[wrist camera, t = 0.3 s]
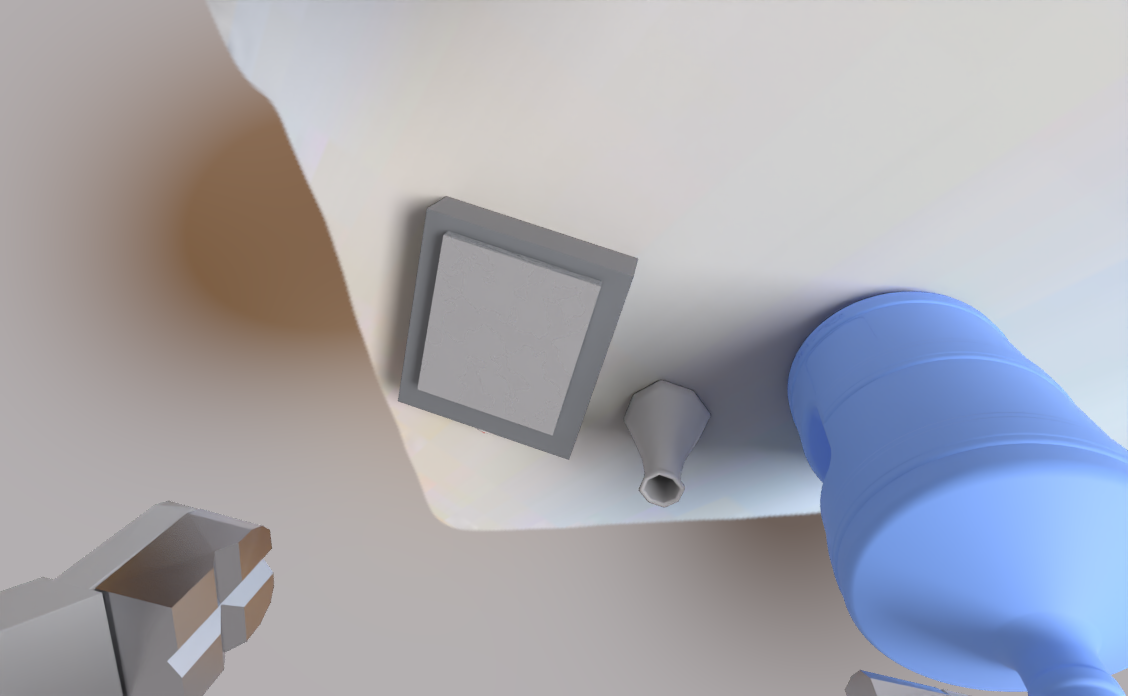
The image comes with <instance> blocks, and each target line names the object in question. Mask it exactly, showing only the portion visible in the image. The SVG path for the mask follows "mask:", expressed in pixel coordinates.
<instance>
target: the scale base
mask: <svg viewBox="0 0 1128 696" xmlns="http://www.w3.org/2000/svg"><path fill="white" fill-rule="evenodd" d="M448 231H450V232H453V233H456V234H459V235H462V236H465V237H468V238H471V239H474V240H477V241H480V242H483V243H486V244H489V245H492V246H495V247H498V248H501V249H504V250H507V251H511V252H514V253H517V254H520V255H523V256H526V257H529V258H532V259H535V260H538V261H541V262H544V263H547V264H550V265H553V266H556V267H559V268H562V269H565V270H568V271H571V272H574V273H577V274H580V275H583V276H587V277H590V278H593V279H596V280H599V281H602V286H601V289H600V292H599V295H598V298H597V301H596V304H595V307H594V310H593V313H592V316H591V319H590V322H589V325H588V329H587V332H586V335H585V338H584V341H583V344H582V347H581V350H580V353H579V356H578V359H577V362H576V365H575V368H574V372H573V375H572V378H571V381H570V384H569V387H568V390H567V393H566V396H565V399H564V402H563V405H562V408H561V411H560V415H559V418H558V421H557V424H556V427H555V430H554V433H553V435H549V434H546V433H543V432H541V431H538V430H535V429H532V428H529V427H526V426H523V425H520V424H517V423H514V422H511V421H508V420H505V419H503V418H500V417H497V416H494V415H491V414H488V413H485V412H482V411H479V410H476V409H473V408H470V407H467V406H465V405H462V404H459V403H456V402H453V401H450V400H447V399H444V398H441V397H438V396H435V395H432V394H429V393H427V392H424V391H421V390H418V389H417V388H418V382H419V376H420V371H421V365H422V359H423V353H424V347H425V341H426V335H427V329H428V323H429V317H430V311H431V305H432V299H433V294H434V288H435V282H436V276H437V270H438V264H439V258H440V252H441V246H442V240H443V235H444V234H445V233H447V232H448ZM637 261H638V258H634V257H631V256H628V255H625V254H622V253H619V252H616V251H613V250H610V249H607V248H604V247H601V246H598V245H595V244H592V243H588V242H585V241H582V240H579V239H576V238H573V237H570V236H567V235H564V234H561V233H558V232H555V231H552V230H549V229H546V228H543V227H539V226H536V225H533V224H530V223H527V222H524V221H521V220H518V219H515V218H512V217H509V216H506V215H503V214H500V213H497V212H493V211H490V210H487V209H484V208H481V207H478V206H475V205H472V204H469V203H466V202H463V201H460V200H457V199H454V198H451V197H447V196H446V197H445V198H443V199H442V200H440V201H438V202H437V203H435V204H434V205H432V206H430V207H429V208H427V212H426V218H425V225H424V232H423V238H422V245H421V252H420V258H419V265H418V272H417V278H416V285H415V292H414V298H413V305H412V311H411V318H410V325H409V331H408V338H407V345H406V351H405V358H404V365H403V371H402V378H401V385H400V391H399V398H398V401H399V402H402V403H405V404H408V405H411V406H414V407H417V408H419V409H422V410H425V411H428V412H431V413H434V414H437V415H440V416H443V417H446V418H449V419H451V420H454V421H457V422H460V423H463V424H466V425H469V426H472V427H475V428H477V429H478V430H480V431H482V432H483V433H492V434H495V435H498V436H501V437H504V438H507V439H510V440H513V441H516V442H518V443H521V444H524V445H527V446H530V447H533V448H536V449H539V450H542V451H545V452H548V453H550V454H553V455H556V456H559V457H562V458H565V459H568V460H569V458H570V455H571V452H572V449H573V447H574V444H575V441H576V438H577V435H578V432H579V430H580V427H581V424H582V421H583V418H584V415H585V413H586V410H587V407H588V404H589V401H590V398H591V396H592V393H593V390H594V387H595V384H596V381H597V379H598V376H599V373H600V370H601V367H602V364H603V362H604V359H605V356H606V353H607V350H608V347H609V345H610V342H611V339H612V336H613V333H614V330H615V328H616V325H617V322H618V319H619V316H620V313H621V311H622V308H623V305H624V302H625V299H626V296H627V294H628V291H629V288H630V285H631V282H632V279H633V277H634V273H635V269H636V265H637Z"/></svg>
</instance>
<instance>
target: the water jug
mask: <svg viewBox="0 0 1128 696" xmlns="http://www.w3.org/2000/svg"><path fill="white" fill-rule="evenodd" d="M788 401H789V406H790V410H791V413H792V417H793V420H794V423H795V425H796V428H797V430H798V432H799V435H800V439H801V443H802V447H803V450H804V453H805V456H806V458H807V461H808V463H809V465H810V466H811V468H812V470H813V471H814V473H815V474H816V475H817V477H818V478H819V479H820V480H821V481H822V482H823V486H822V491H821V499H820V507H821V516H822V520H823V524H824V528H825V531H826V535H827V545H828V551H829V556H830V560H831V564H832V567H833V571H834V575H835V578H836V581H837V584H838V586H839V589H840V591H841V593H842V595H843V597H844V601H845V604H846V607H847V609H848V611H849V614H850V616H851V618H852V620H853V621H854V623H855V625H856V626H857V627H858V629H859V630H860V632H861V633H862V634H863V635H864V636H865V638H866V639H867V640H868V641H869V642H870V643H871V644H872V645H874V647H876V648H877V649H878V650H879V651H880V652H882V653H883V654H884V655H886V656H887V657H888V658H890V659H891V660H893V661H895V662H896V663H898V664H900V665H901V666H903V667H905V668H907V669H909V670H911V671H913V672H916V673H918V674H921V675H923V676H925V677H928V678H931V679H934V680H937V681H940V682H944V683H947V684H951V685H956V686H961V687H966V688H972V689H979V690H988V691H1005V692H1023V691H1028V696H1126V695H1125V693H1124V691H1123V690H1122V688H1121V687H1120V685H1119V684H1118V682H1117V681H1116V680H1115V679H1114V678H1113V677H1112V676H1111V675H1112V674H1114V673H1117V672H1119V671H1122V670H1124V669H1126V668H1128V450H1126V449H1125V448H1124V447H1122V446H1121V445H1120V444H1118V443H1117V442H1116V441H1114V440H1112V439H1111V438H1110V437H1109V436H1108V435H1107V434H1106V433H1105V432H1104V431H1103V430H1101V429H1100V428H1099V427H1098V426H1097V425H1096V424H1095V423H1094V422H1093V421H1092V420H1091V419H1090V418H1089V417H1088V416H1087V415H1086V414H1085V413H1084V412H1083V411H1081V410H1080V409H1079V408H1078V407H1077V406H1076V405H1075V404H1074V402H1073V401H1072V400H1071V398H1070V397H1069V396H1068V395H1067V393H1066V392H1065V391H1064V390H1063V389H1062V388H1061V387H1060V386H1059V385H1058V384H1057V383H1056V382H1055V381H1054V380H1053V379H1052V378H1051V377H1050V376H1049V375H1048V374H1047V373H1045V372H1044V371H1043V370H1042V369H1041V368H1039V367H1038V366H1037V365H1035V364H1034V363H1033V362H1031V361H1030V360H1028V359H1027V358H1026V357H1025V356H1023V355H1022V354H1021V353H1020V352H1019V351H1018V350H1017V349H1016V348H1015V347H1014V346H1013V345H1012V344H1011V343H1010V342H1009V341H1008V339H1007V338H1006V337H1005V335H1004V334H1003V333H1002V332H1001V331H1000V330H999V329H998V328H997V327H996V326H995V325H994V324H993V323H992V322H991V321H990V320H989V319H988V318H987V317H986V316H984V315H983V314H982V313H981V312H979V311H978V310H976V309H975V308H973V307H971V306H970V305H968V304H966V303H964V302H961V301H959V300H956V299H954V298H951V297H947V296H944V295H940V294H935V293H928V292H915V291H907V292H894V293H887V294H882V295H877V296H873V297H870V298H867V299H864V300H861V301H858V302H856V303H853V304H851V305H849V306H847V307H845V308H843V309H841V310H840V311H838V312H836V313H835V314H833V315H832V316H830V317H829V318H827V319H826V320H825V321H824V322H822V323H821V324H820V325H819V326H818V327H817V328H816V329H815V330H814V331H813V332H812V333H811V334H810V335H809V336H808V337H807V339H806V340H805V341H804V343H803V344H802V346H801V347H800V349H799V350H798V352H797V354H796V356H795V358H794V361H793V363H792V366H791V369H790V373H789V378H788Z"/></svg>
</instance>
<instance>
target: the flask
mask: <svg viewBox="0 0 1128 696" xmlns="http://www.w3.org/2000/svg"><path fill="white" fill-rule="evenodd" d="M710 416H711V414H710V413H709V412H708V410H707V409H706V407H705V406H704V405H703V403H702V402H701V401H700V399H699V398H698V397H697V395H696V394H695V393H694V391H693V390H690V389H687V388H684V387H681V386H678V385H675V384H672V383H669V382H666V381H663V380H660V381H658V382H656V383H654V384H652V385H651V386H649V387H647V388H645V389H643V390H641V391H639V392H637V393H636V394H634V395H633V397H632V400H631V402H630V405H629V407H628V410H627V412H626V415H625V417H624V422H625V424H626V426H627V428H628V430H629V432H630V434H631V436H632V438H633V440H634V442H635V444H636V446H637V449H638V451H639V453H640V455H641V458H642V461H643V467H644V472H645V474H644V478H643V481H642V483H641V485H640V487H639V491H640V492H641V494H642V495H643V496H644V497H645V499H646V500H647V501H648V502H650V503H653V504H655V505H658V506H661V507H667V506H669V505H671V504H674V503H676V502H679V500H680V498H681V496H682V494H683V492H684V490H685V486H684V484H683V483H682V482H681V471H682V468H683V464H684V461H685V460H686V458H687V456H688V455H689V453H690V452H691V450H692V449H693V448H694V446H695V445H696V443H697V442H698V440H699V438H700V436H701V434H702V432H703V430H704V428H705V426H706V424H707V422H708V420H709V418H710Z"/></svg>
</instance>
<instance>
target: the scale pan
mask: <svg viewBox="0 0 1128 696" xmlns="http://www.w3.org/2000/svg"><path fill="white" fill-rule="evenodd" d="M601 286H602V281H599V280H596V279H593V278H590V277H587V276H583V275H580V274H577V273H574V272H571V271H568V270H565V269H562V268H559V267H556V266H553V265H550V264H547V263H544V262H541V261H538V260H535V259H532V258H529V257H526V256H523V255H520V254H517V253H514V252H511V251H507V250H504V249H501V248H498V247H495V246H492V245H489V244H486V243H483V242H480V241H477V240H474V239H471V238H468V237H465V236H462V235H459V234H456V233H453V232H450V231H448V232H447V233H445V234H444V235H443V240H442V246H441V252H440V258H439V264H438V270H437V276H436V282H435V288H434V294H433V299H432V305H431V311H430V317H429V323H428V329H427V335H426V341H425V347H424V353H423V359H422V365H421V371H420V376H419V382H418V388H417V389H418V390H421V391H424V392H427V393H429V394H432V395H435V396H438V397H441V398H444V399H447V400H450V401H453V402H456V403H459V404H462V405H465V406H467V407H470V408H473V409H476V410H479V411H482V412H485V413H488V414H491V415H494V416H497V417H500V418H503V419H505V420H508V421H511V422H514V423H517V424H520V425H523V426H526V427H529V428H532V429H535V430H538V431H541V432H543V433H546V434H549V435H553V433H554V430H555V427H556V424H557V421H558V418H559V415H560V411H561V408H562V405H563V402H564V399H565V396H566V393H567V390H568V387H569V384H570V381H571V378H572V375H573V372H574V368H575V365H576V362H577V359H578V356H579V353H580V350H581V347H582V344H583V341H584V338H585V335H586V332H587V329H588V325H589V322H590V319H591V316H592V313H593V310H594V307H595V304H596V301H597V298H598V295H599V292H600V289H601Z"/></svg>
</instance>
